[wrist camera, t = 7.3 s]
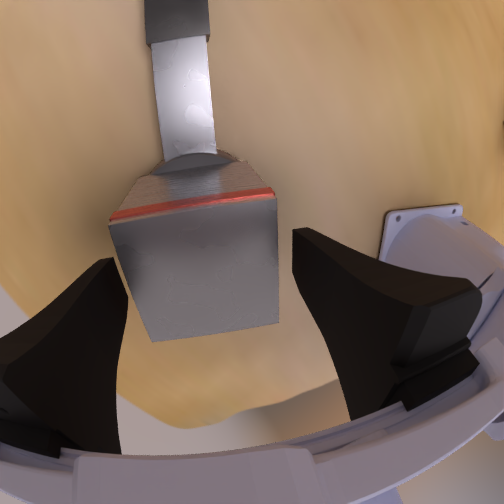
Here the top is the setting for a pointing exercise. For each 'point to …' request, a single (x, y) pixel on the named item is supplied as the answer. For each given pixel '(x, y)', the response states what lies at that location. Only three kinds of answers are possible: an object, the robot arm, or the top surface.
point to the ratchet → (182, 83)
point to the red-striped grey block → (200, 250)
